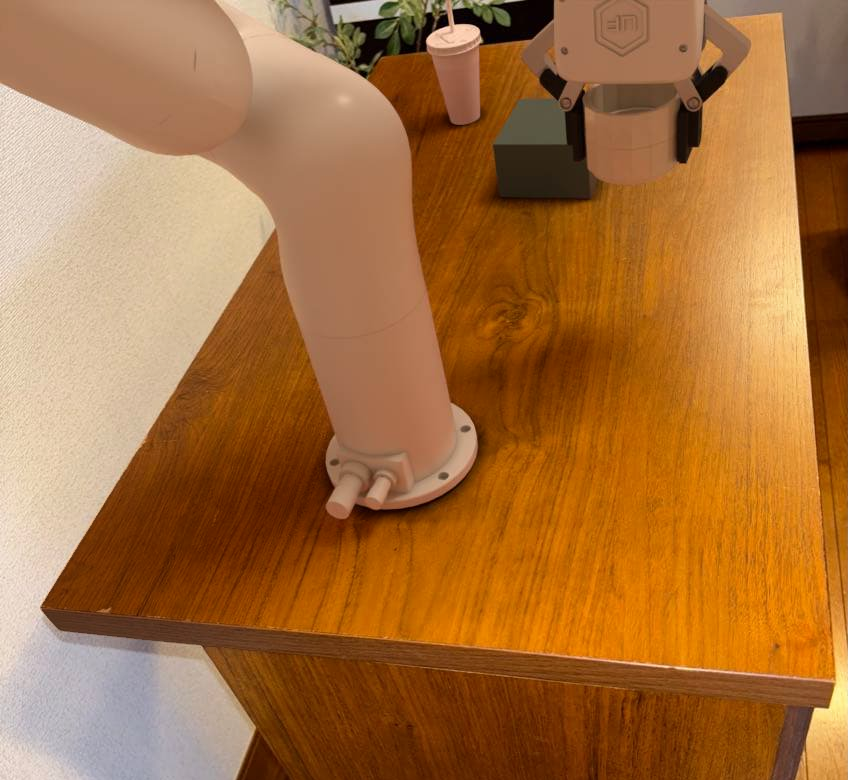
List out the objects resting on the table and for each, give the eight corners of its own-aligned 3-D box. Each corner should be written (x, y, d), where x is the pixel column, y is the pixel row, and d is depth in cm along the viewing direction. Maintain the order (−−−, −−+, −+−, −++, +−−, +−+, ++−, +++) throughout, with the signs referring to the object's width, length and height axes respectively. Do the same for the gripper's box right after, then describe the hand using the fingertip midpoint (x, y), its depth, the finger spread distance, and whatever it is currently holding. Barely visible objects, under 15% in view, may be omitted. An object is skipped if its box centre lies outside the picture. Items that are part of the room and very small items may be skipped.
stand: (590, 199, 102) (587, 144, 98) (499, 197, 106) (492, 144, 101) (612, 150, 108) (610, 96, 104) (525, 150, 112) (519, 98, 107)
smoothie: (492, 101, 121) (476, -20, 111) (489, 126, 117) (473, 2, 107) (441, 108, 123) (421, -11, 112) (437, 133, 118) (415, 11, 108)
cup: (670, 189, 73) (671, 116, 69) (576, 186, 75) (571, 116, 71) (689, 141, 77) (691, 70, 73) (599, 140, 80) (596, 72, 76)
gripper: (483, -79, 64) (511, 176, 77) (762, -99, 58) (741, 182, 70) (517, -118, 68) (538, 129, 81) (780, -140, 62) (758, 131, 75)
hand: (633, 152), depth 76 cm, fingers closed on cup, 7 cm apart
